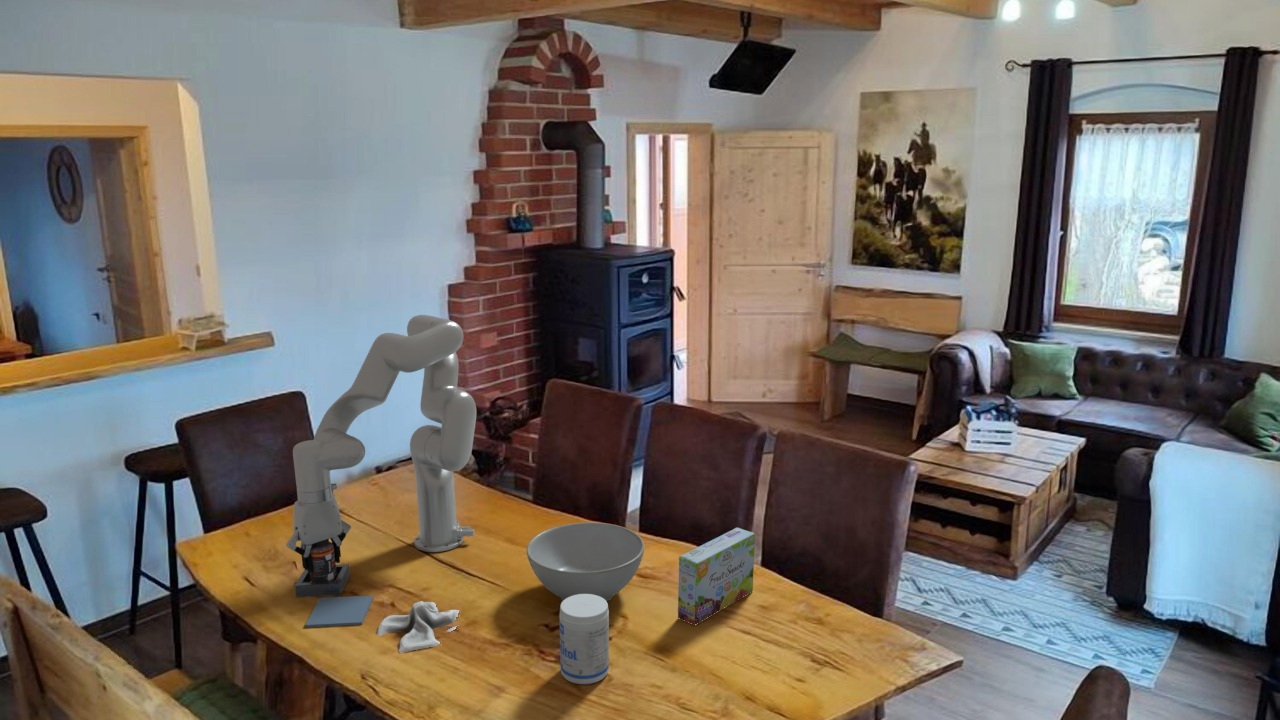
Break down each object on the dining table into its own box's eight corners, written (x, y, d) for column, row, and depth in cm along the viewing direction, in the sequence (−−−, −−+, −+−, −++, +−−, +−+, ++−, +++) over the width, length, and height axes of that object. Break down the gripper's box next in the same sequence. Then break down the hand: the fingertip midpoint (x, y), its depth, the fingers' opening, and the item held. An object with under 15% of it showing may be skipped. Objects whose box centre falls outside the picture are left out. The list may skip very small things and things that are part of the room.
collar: (350, 575, 220) (349, 564, 219) (340, 595, 210) (339, 583, 210) (307, 577, 219) (306, 566, 219) (295, 597, 210) (294, 585, 209)
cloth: (415, 663, 183) (413, 635, 182) (357, 635, 194) (355, 609, 193) (494, 617, 201) (493, 592, 200) (437, 594, 212) (435, 570, 210)
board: (373, 597, 209) (373, 595, 209) (362, 624, 197) (361, 622, 197) (320, 600, 208) (319, 598, 208) (305, 627, 196) (305, 624, 196)
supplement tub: (550, 674, 178) (548, 606, 175) (584, 653, 185) (582, 587, 182) (586, 692, 172) (584, 622, 169) (619, 670, 179) (618, 602, 176)
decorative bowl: (504, 596, 209) (502, 547, 206) (588, 557, 228) (587, 512, 225) (585, 637, 191) (583, 585, 188) (668, 592, 210) (668, 543, 208)
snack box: (696, 628, 195) (697, 563, 191) (676, 619, 198) (676, 555, 195) (754, 592, 210) (755, 531, 206) (735, 584, 213) (736, 525, 210)
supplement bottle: (339, 583, 213) (334, 538, 211) (313, 589, 211) (308, 544, 208) (334, 572, 219) (330, 529, 216) (308, 578, 216) (303, 534, 213)
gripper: (342, 479, 218) (348, 549, 222) (271, 500, 206) (279, 572, 211) (357, 487, 213) (363, 558, 217) (285, 509, 201) (293, 583, 205)
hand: (322, 564), depth 214 cm, fingers closed on supplement bottle, 6 cm apart
